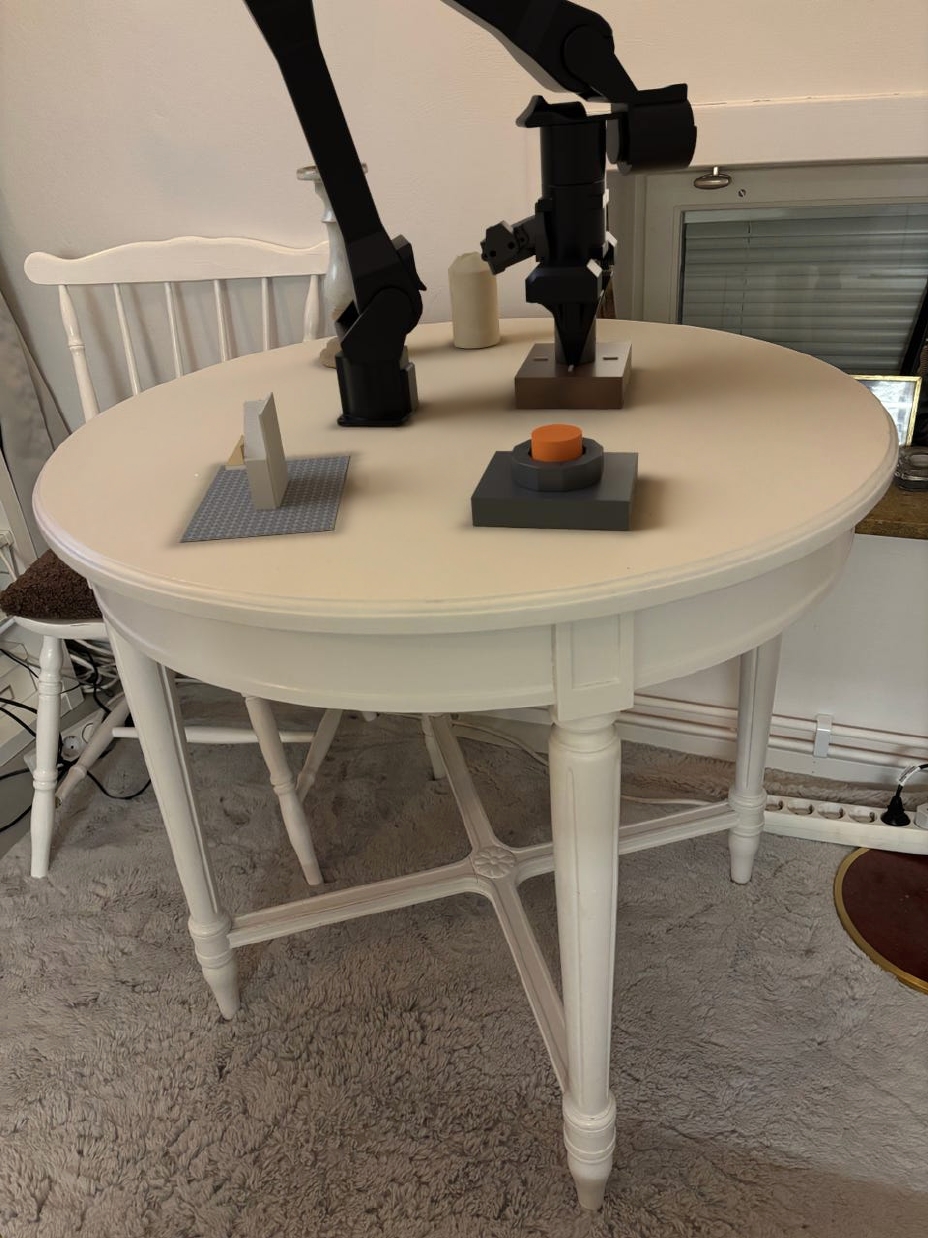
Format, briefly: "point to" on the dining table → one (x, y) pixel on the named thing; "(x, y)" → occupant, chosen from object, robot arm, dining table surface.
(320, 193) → the candle holder
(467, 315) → the candle
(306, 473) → the architectural model
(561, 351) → the knob
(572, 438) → the spray button
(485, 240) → the robot arm
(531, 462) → the push button base
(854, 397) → the dining table surface
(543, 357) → the panel
